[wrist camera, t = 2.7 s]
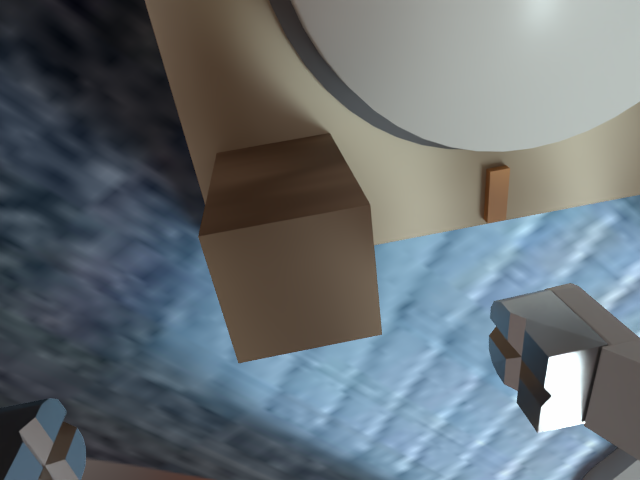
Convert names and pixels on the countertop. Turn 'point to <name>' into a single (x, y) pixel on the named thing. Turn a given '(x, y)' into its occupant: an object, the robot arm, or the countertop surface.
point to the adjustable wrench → (616, 468)
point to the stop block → (290, 248)
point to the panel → (365, 126)
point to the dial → (483, 65)
